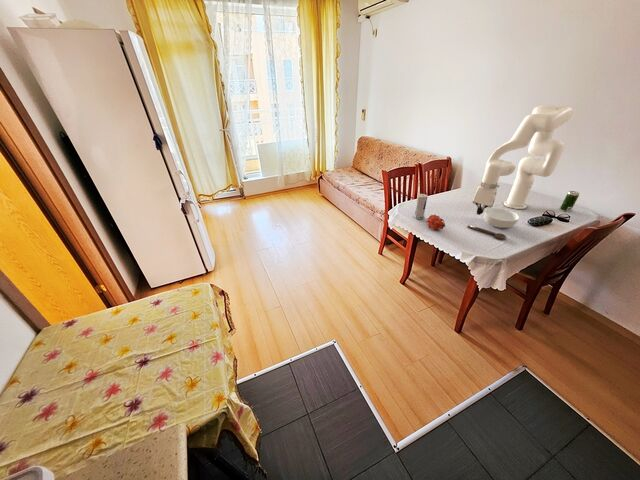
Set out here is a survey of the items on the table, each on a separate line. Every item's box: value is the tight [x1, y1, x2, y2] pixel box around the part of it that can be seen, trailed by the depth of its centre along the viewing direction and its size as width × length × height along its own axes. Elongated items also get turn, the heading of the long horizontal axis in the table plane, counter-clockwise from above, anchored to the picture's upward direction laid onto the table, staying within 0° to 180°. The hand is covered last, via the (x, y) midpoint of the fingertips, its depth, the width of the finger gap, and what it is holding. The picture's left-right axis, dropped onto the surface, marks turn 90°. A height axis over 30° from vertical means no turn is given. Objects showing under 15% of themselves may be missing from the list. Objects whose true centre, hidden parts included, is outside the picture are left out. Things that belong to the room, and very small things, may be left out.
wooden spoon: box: [467, 224, 507, 241], centre depth 141 cm, size 20×5×2 cm, turn 41°
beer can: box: [559, 190, 581, 213], centre depth 156 cm, size 5×5×12 cm
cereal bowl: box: [483, 207, 520, 229], centre depth 146 cm, size 17×17×7 cm
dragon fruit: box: [425, 214, 446, 232], centre depth 147 cm, size 8×8×12 cm
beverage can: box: [413, 193, 428, 220], centre depth 157 cm, size 6×6×15 cm
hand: (479, 213), depth 153 cm, fingers closed
